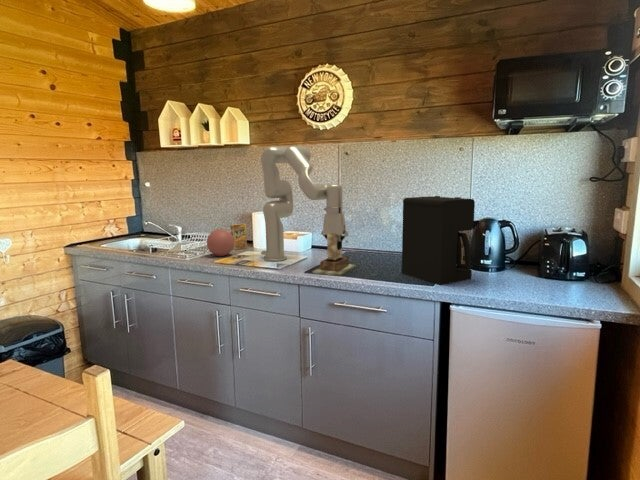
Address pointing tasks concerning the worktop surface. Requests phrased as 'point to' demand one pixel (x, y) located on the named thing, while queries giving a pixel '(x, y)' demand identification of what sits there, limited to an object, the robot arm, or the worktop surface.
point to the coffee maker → (437, 238)
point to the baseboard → (177, 248)
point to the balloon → (220, 242)
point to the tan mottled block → (333, 247)
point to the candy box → (239, 235)
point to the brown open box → (334, 266)
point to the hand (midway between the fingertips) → (334, 248)
